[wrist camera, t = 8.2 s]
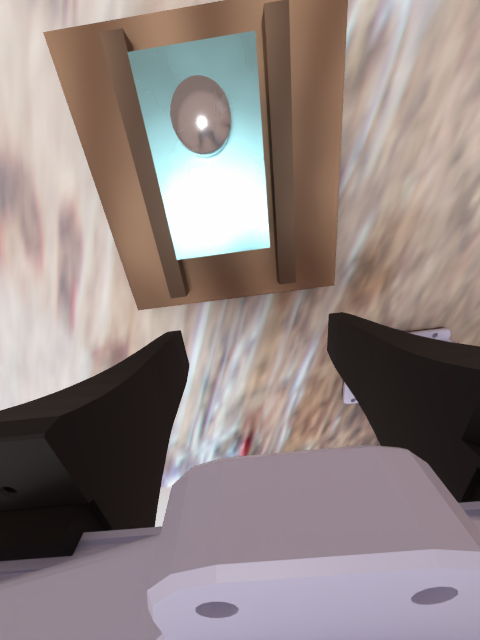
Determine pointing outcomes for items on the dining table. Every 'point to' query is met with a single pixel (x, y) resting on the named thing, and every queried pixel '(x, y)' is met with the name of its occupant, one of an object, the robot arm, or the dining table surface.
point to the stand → (277, 131)
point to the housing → (206, 141)
